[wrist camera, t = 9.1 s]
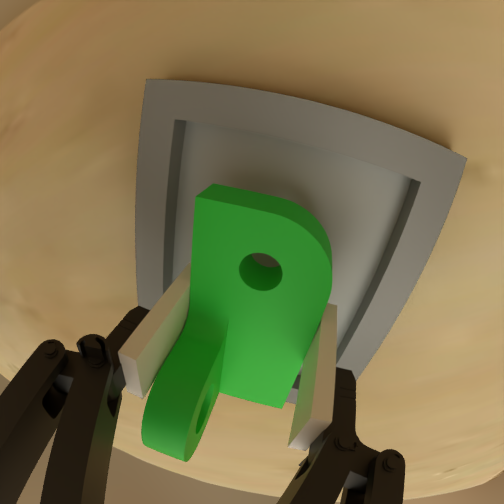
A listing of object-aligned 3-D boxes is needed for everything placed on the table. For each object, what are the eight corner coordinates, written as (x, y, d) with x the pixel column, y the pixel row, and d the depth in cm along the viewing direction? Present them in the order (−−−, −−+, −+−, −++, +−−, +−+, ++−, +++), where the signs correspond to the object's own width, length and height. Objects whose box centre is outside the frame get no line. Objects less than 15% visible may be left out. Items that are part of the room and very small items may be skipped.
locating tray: (153, 338, 24) (143, 353, 22) (165, 80, 14) (146, 79, 12) (333, 392, 22) (332, 411, 20) (451, 151, 12) (467, 158, 10)
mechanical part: (286, 384, 18) (261, 494, 11) (199, 360, 19) (150, 460, 12) (347, 214, 12) (369, 357, 5) (213, 183, 13) (94, 279, 6)
